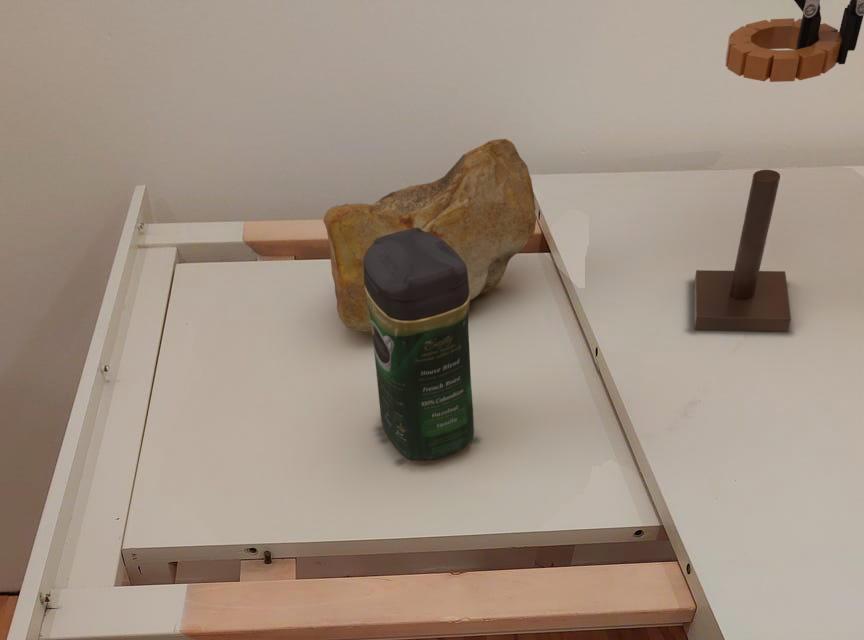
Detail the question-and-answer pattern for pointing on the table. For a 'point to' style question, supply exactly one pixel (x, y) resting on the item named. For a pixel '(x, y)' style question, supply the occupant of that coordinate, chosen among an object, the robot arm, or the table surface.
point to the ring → (780, 51)
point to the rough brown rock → (440, 223)
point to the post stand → (746, 275)
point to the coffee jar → (421, 343)
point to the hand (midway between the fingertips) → (822, 57)
